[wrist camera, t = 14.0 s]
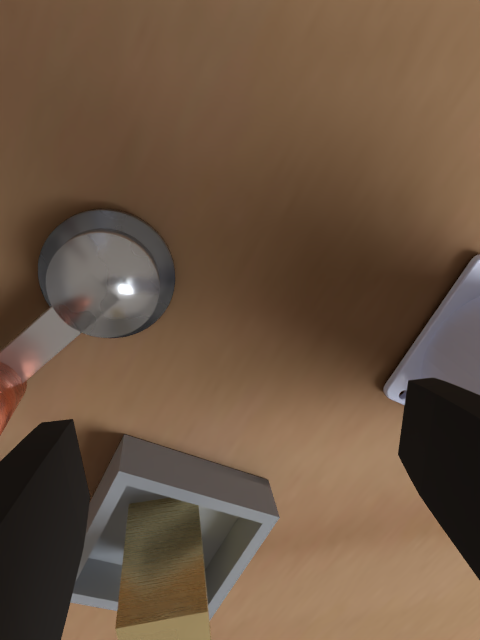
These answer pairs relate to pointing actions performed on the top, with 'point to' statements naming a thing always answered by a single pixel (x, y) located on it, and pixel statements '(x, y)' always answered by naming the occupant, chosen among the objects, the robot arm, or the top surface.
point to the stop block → (163, 574)
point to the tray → (182, 484)
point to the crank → (82, 304)
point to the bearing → (124, 224)
